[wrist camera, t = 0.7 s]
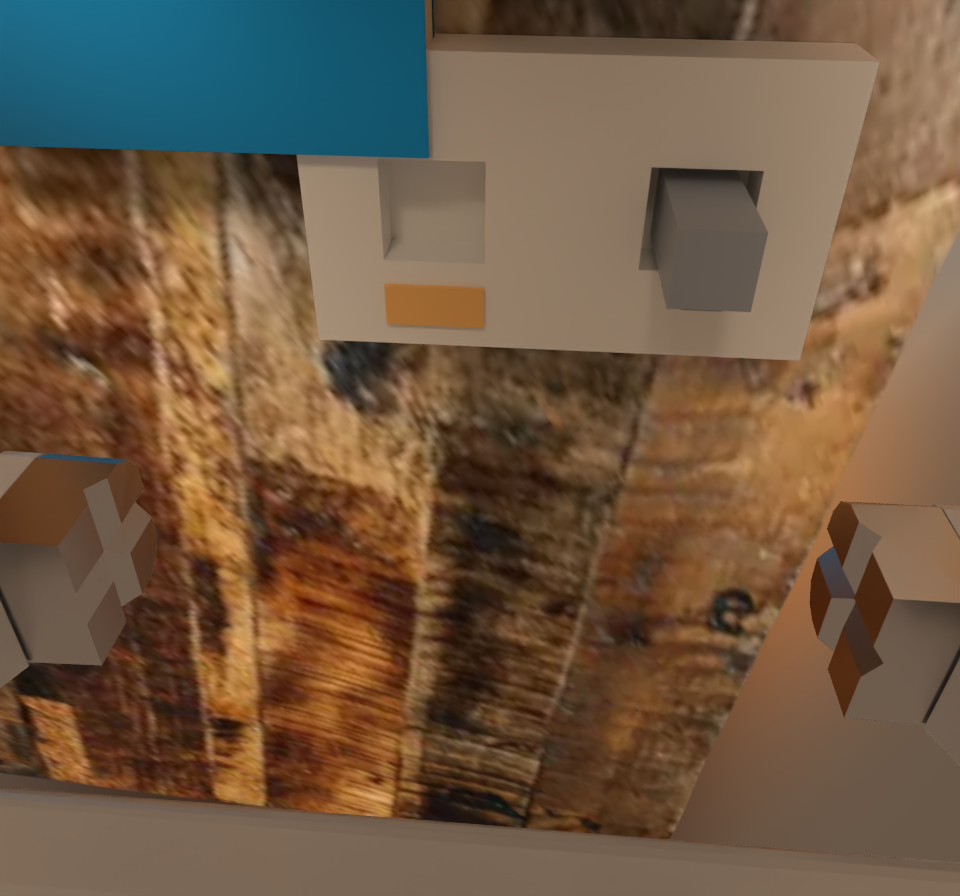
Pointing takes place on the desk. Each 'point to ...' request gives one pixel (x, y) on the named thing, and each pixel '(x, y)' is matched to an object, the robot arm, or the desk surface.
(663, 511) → the desk surface
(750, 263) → the plug
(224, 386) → the desk surface
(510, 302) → the socket board
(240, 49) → the book
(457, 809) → the desk surface
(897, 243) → the desk surface
